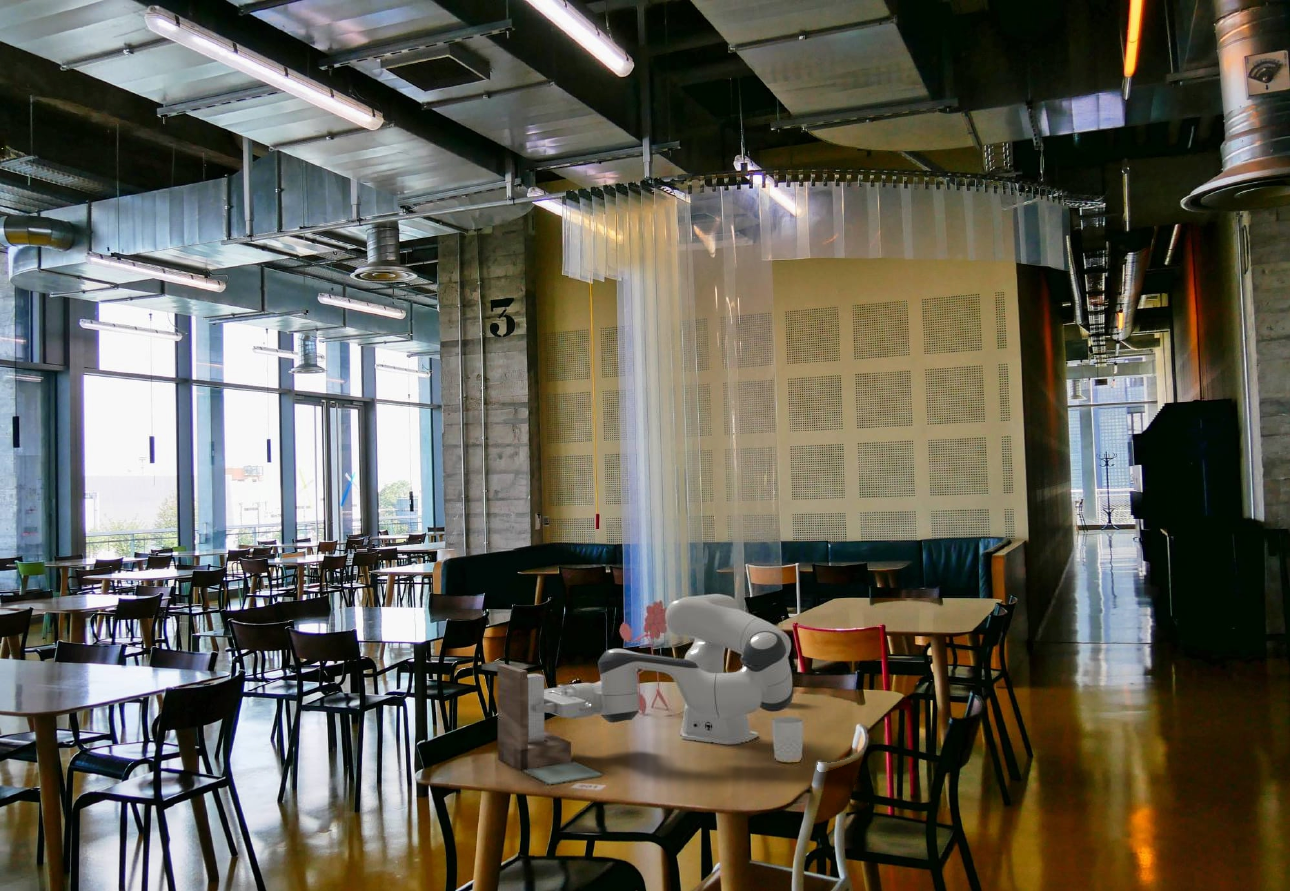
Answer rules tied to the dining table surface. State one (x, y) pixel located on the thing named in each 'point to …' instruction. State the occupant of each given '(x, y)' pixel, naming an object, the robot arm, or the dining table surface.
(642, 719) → the dining table surface
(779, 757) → the white cup
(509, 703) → the socket stand
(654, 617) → the pink stick figure
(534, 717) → the steel bar
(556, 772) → the rubber mat
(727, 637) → the robot arm
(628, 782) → the dining table surface
